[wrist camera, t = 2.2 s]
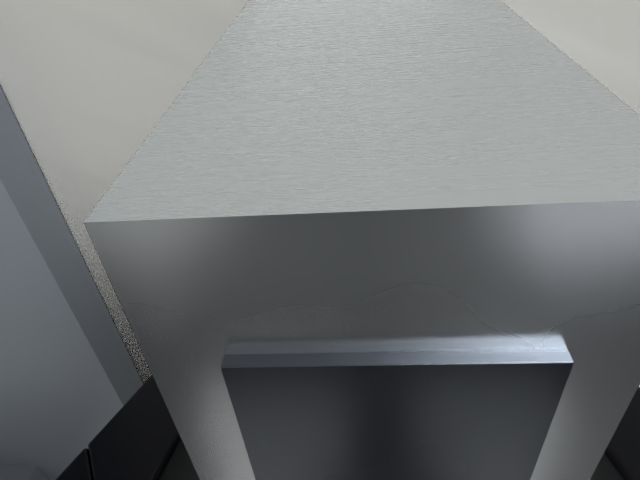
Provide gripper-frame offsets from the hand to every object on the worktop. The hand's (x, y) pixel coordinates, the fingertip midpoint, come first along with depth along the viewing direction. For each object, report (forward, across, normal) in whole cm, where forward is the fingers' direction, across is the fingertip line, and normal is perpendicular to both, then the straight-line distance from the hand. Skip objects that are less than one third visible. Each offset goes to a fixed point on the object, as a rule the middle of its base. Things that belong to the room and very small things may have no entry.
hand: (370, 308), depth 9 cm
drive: (+2, 0, 0) cm, 2 cm away
